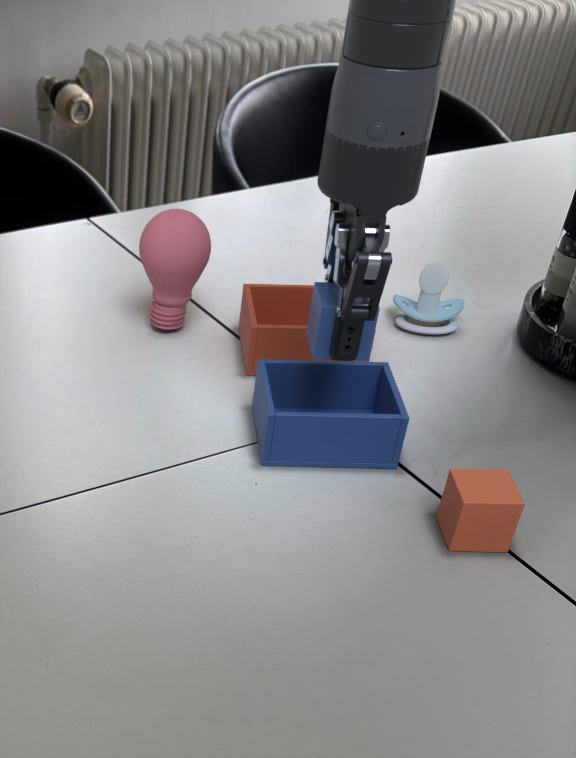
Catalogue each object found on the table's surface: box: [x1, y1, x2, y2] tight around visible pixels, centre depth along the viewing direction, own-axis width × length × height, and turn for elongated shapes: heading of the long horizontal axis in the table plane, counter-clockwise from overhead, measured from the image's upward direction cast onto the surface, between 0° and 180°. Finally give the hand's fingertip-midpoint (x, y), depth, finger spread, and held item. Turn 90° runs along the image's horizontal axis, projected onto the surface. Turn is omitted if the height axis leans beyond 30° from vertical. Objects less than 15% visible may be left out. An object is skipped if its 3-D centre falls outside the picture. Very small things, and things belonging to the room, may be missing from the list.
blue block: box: [306, 281, 381, 362], centre depth 86 cm, size 5×5×5 cm
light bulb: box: [138, 208, 212, 331], centre depth 105 cm, size 7×7×12 cm
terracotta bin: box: [237, 283, 377, 376], centre depth 103 cm, size 12×10×5 cm
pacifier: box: [392, 261, 466, 336], centre depth 108 cm, size 7×6×6 cm
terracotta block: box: [435, 468, 526, 553], centre depth 81 cm, size 5×5×5 cm
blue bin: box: [251, 359, 410, 470], centre depth 91 cm, size 12×10×5 cm
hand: (337, 343), depth 87 cm, fingers closed on blue block, 4 cm apart
